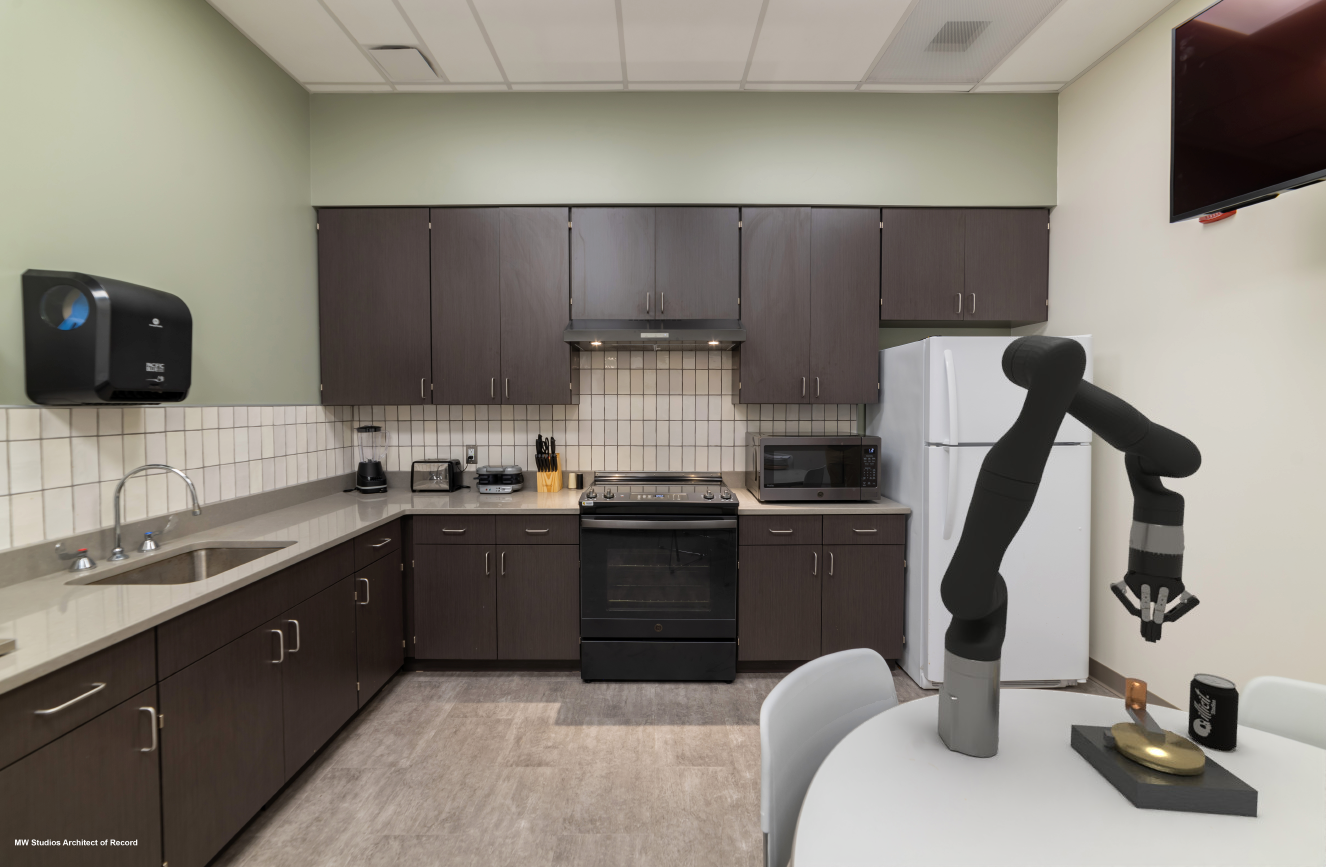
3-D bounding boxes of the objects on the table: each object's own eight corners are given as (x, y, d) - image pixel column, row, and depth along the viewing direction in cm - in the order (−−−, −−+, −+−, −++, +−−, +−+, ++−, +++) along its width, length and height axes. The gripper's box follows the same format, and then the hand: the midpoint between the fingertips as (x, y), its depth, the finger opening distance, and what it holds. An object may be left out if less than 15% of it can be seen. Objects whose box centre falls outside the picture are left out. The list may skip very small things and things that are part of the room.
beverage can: (1241, 757, 103) (1244, 691, 103) (1192, 745, 107) (1195, 682, 107) (1230, 740, 109) (1233, 677, 109) (1184, 729, 113) (1186, 669, 112)
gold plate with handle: (1219, 783, 89) (1221, 732, 89) (1116, 761, 94) (1118, 713, 94) (1172, 727, 105) (1174, 684, 105) (1086, 712, 110) (1088, 670, 110)
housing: (1136, 807, 89) (1138, 781, 89) (1070, 745, 106) (1071, 723, 106) (1256, 816, 88) (1258, 789, 88) (1169, 752, 105) (1170, 729, 104)
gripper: (1200, 549, 104) (1194, 643, 105) (1108, 538, 111) (1103, 626, 112) (1209, 557, 98) (1203, 657, 98) (1111, 545, 105) (1105, 638, 106)
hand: (1149, 640), depth 105 cm, fingers closed
